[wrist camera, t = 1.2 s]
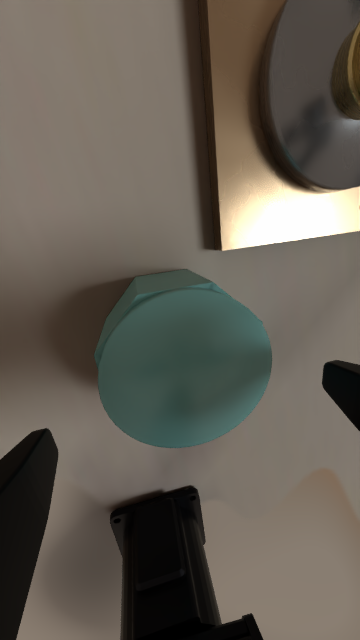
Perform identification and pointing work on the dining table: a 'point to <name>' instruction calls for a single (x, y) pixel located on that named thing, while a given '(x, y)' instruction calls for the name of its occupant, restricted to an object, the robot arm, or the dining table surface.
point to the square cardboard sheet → (282, 118)
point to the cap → (180, 360)
